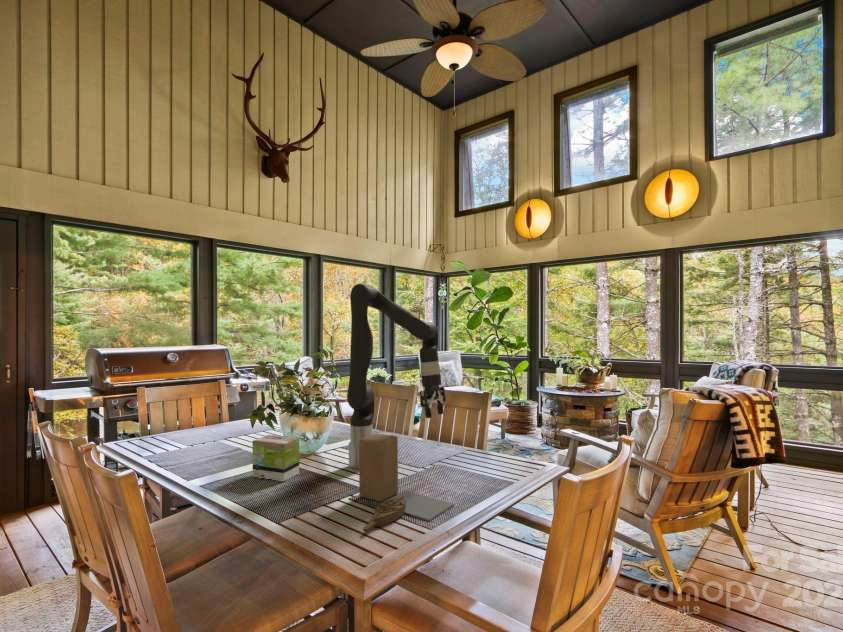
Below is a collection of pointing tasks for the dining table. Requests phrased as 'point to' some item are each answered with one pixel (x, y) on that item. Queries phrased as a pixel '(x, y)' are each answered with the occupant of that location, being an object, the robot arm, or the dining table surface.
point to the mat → (423, 506)
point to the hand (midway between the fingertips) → (434, 415)
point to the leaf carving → (387, 512)
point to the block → (378, 466)
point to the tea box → (276, 457)
